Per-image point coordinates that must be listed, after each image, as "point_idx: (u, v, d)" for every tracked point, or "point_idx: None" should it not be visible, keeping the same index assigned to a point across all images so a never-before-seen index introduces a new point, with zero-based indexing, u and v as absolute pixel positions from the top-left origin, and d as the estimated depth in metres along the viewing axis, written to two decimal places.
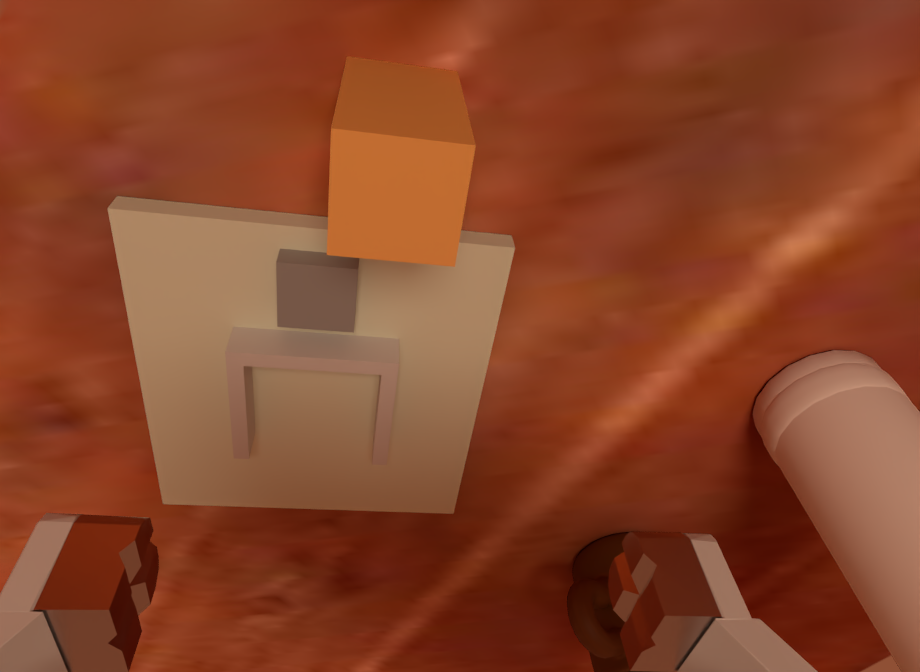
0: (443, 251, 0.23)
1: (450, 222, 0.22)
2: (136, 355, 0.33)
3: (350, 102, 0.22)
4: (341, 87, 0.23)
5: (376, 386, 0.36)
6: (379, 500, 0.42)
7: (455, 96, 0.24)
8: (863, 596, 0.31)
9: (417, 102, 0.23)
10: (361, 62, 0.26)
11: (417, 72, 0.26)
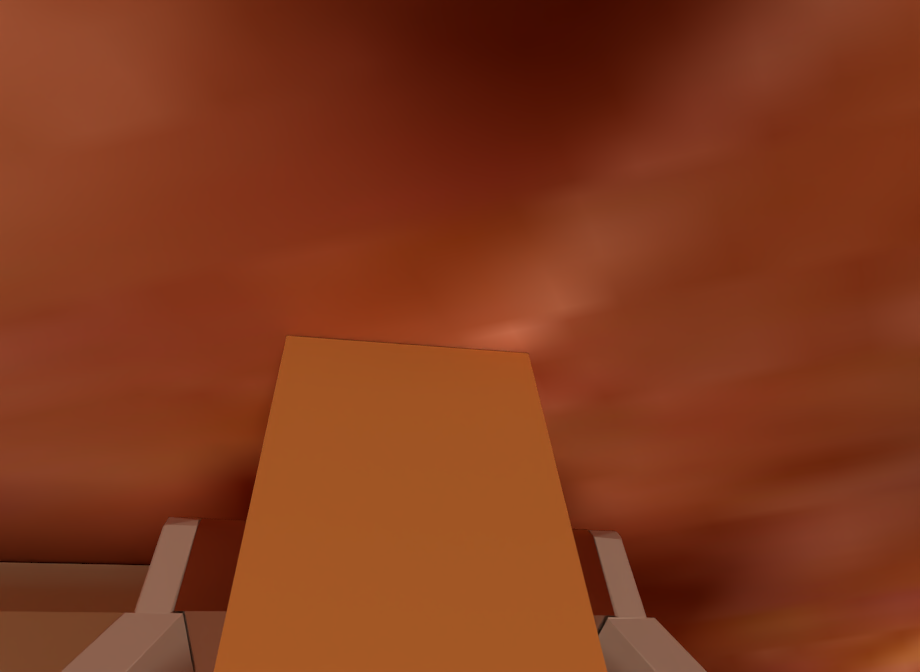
0: None
1: None
2: None
3: (263, 626, 0.08)
4: (250, 519, 0.09)
5: None
6: None
7: (542, 491, 0.10)
8: None
9: (451, 560, 0.09)
10: (316, 362, 0.11)
11: (444, 380, 0.12)
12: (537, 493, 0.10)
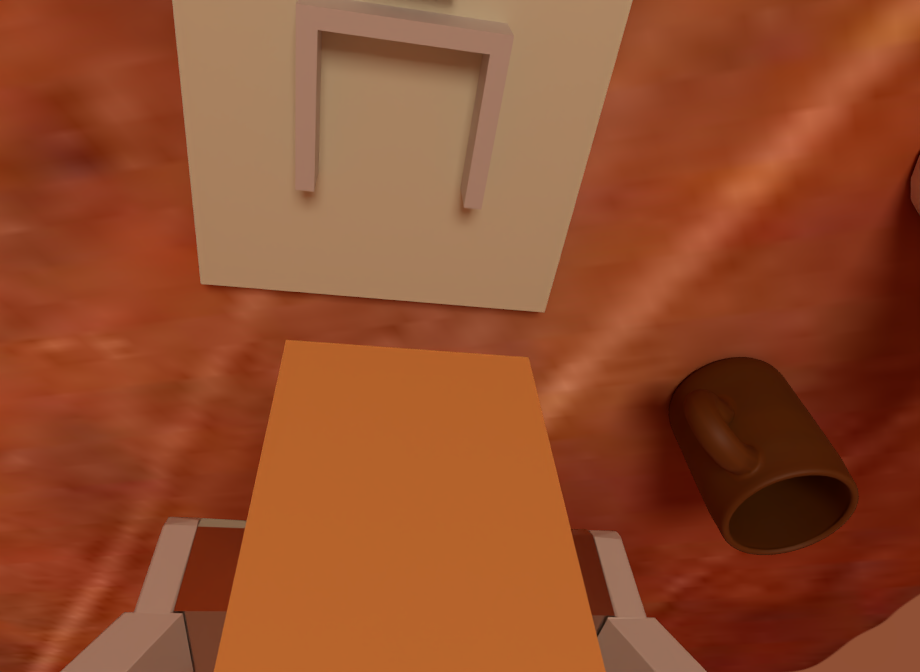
0: None
1: None
2: (177, 37, 0.26)
3: (262, 634, 0.08)
4: (249, 525, 0.09)
5: (472, 103, 0.29)
6: (459, 287, 0.35)
7: (543, 496, 0.10)
8: None
9: (451, 566, 0.09)
10: (316, 366, 0.11)
11: (444, 384, 0.12)
12: (537, 499, 0.10)
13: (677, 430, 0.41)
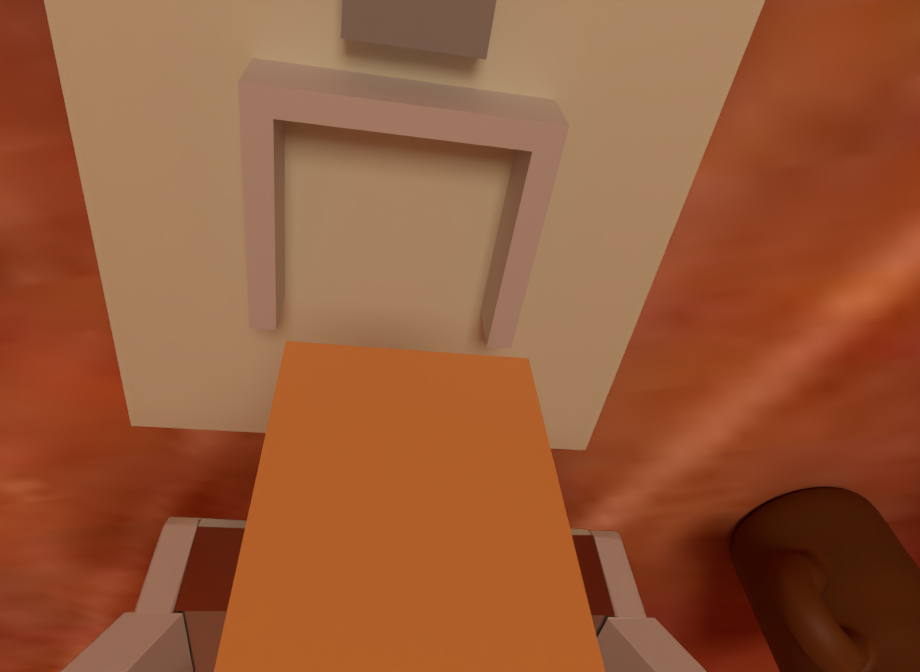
0: None
1: None
2: (71, 120, 0.18)
3: (262, 636, 0.08)
4: (249, 527, 0.09)
5: (500, 205, 0.20)
6: None
7: (543, 498, 0.10)
8: None
9: (451, 569, 0.09)
10: (316, 367, 0.11)
11: (444, 385, 0.12)
12: (537, 500, 0.10)
13: (744, 577, 0.33)
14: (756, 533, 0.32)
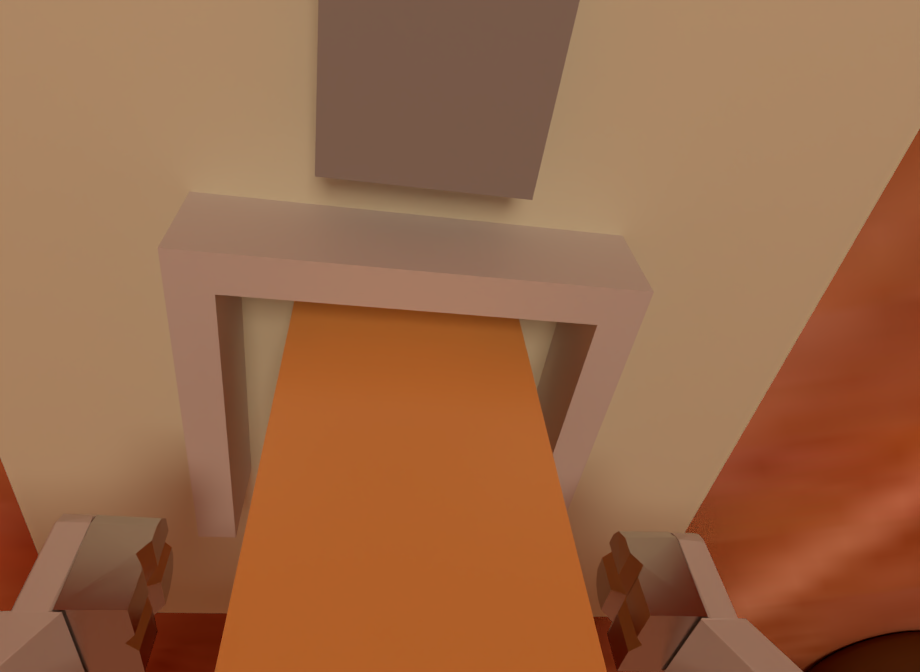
0: None
1: None
2: None
3: (283, 511, 0.09)
4: (269, 431, 0.10)
5: (540, 363, 0.15)
6: None
7: (525, 415, 0.11)
8: None
9: (444, 466, 0.10)
10: (324, 308, 0.13)
11: (439, 325, 0.13)
12: (520, 416, 0.11)
13: None
14: None
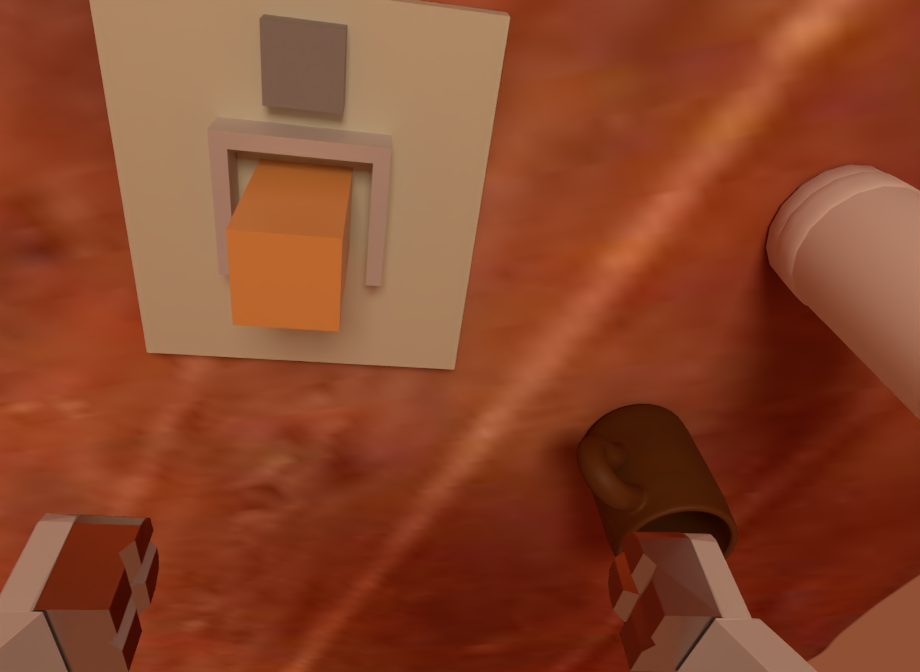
0: (328, 319, 0.28)
1: (330, 297, 0.28)
2: (116, 153, 0.32)
3: (249, 204, 0.28)
4: (246, 190, 0.29)
5: (369, 198, 0.34)
6: (375, 350, 0.39)
7: (342, 193, 0.30)
8: (897, 374, 0.29)
9: (306, 200, 0.29)
10: (270, 165, 0.32)
11: (316, 171, 0.32)
12: (339, 193, 0.30)
13: None
14: None
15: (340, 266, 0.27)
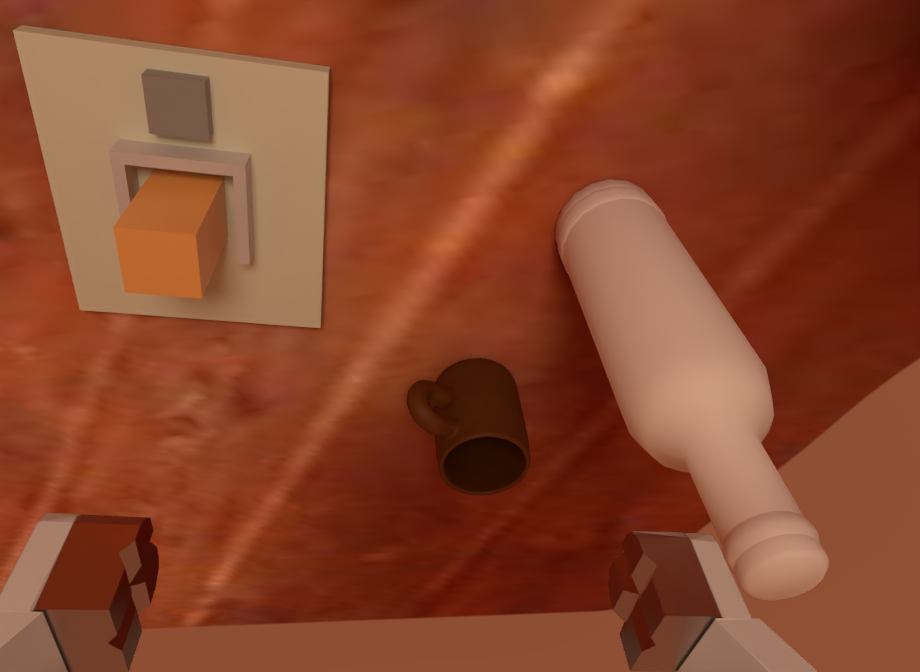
0: (193, 290, 0.40)
1: (192, 274, 0.40)
2: (46, 163, 0.43)
3: (135, 207, 0.40)
4: (136, 196, 0.41)
5: None
6: (257, 311, 0.51)
7: (208, 198, 0.42)
8: None
9: (179, 204, 0.41)
10: (160, 174, 0.43)
11: (194, 179, 0.43)
12: (206, 198, 0.42)
13: None
14: (437, 384, 0.57)
15: (197, 253, 0.39)
